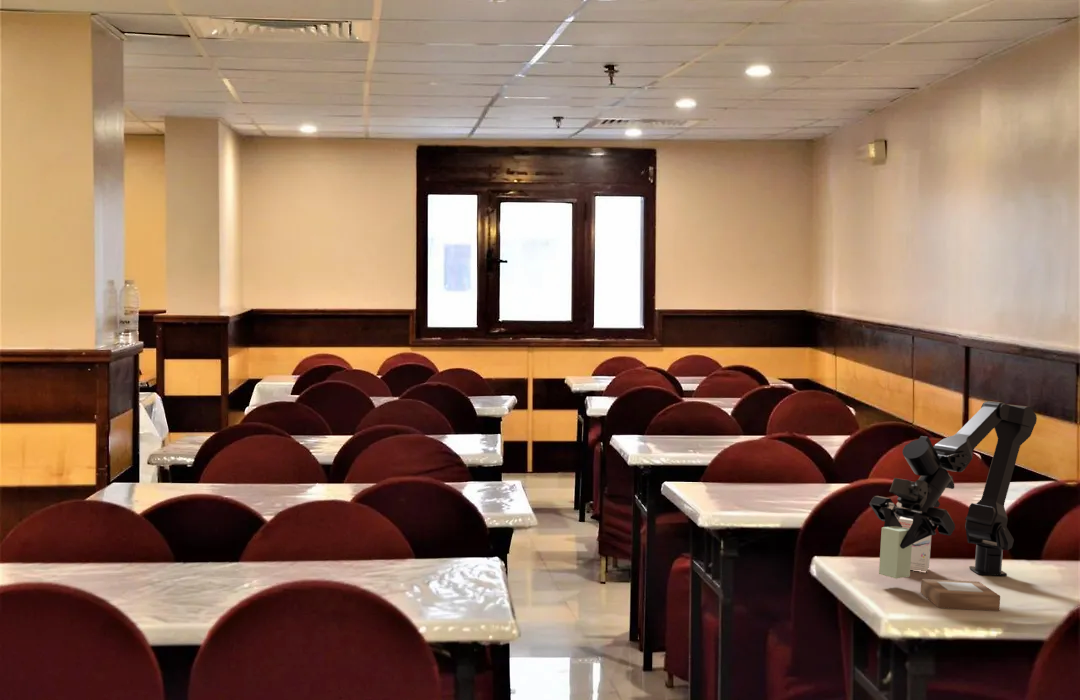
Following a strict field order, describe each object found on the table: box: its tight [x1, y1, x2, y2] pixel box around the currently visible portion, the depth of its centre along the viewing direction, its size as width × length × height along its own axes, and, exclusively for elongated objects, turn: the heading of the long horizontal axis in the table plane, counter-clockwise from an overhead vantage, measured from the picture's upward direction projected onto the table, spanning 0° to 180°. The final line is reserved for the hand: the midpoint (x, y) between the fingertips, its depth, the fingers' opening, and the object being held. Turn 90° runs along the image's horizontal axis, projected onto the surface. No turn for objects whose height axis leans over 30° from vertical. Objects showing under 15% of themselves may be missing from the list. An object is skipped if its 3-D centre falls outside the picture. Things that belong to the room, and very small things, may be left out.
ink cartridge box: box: [895, 501, 932, 572], centre depth 276 cm, size 9×5×15 cm, turn 65°
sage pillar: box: [878, 526, 912, 580], centre depth 257 cm, size 4×4×10 cm
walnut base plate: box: [920, 578, 1001, 612], centre depth 247 cm, size 12×12×3 cm
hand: (891, 544), depth 256 cm, fingers closed on sage pillar, 4 cm apart
